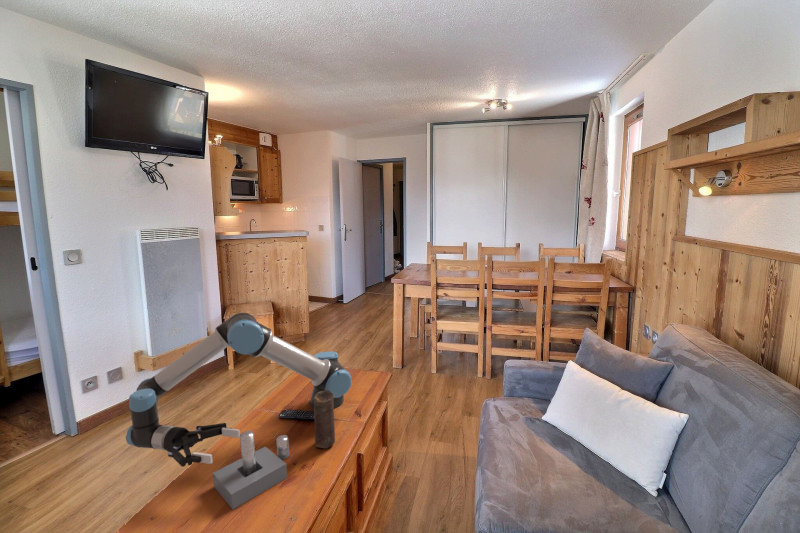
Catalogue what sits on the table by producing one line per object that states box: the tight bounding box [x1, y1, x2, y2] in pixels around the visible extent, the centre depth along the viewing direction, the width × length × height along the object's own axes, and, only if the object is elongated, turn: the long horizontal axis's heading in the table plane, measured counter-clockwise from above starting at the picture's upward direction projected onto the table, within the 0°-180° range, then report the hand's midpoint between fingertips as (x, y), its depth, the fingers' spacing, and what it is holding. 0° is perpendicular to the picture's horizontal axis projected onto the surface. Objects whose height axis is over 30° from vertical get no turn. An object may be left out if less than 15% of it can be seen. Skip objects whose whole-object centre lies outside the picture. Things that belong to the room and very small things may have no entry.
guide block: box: [212, 446, 288, 510], centre depth 123 cm, size 18×14×5 cm
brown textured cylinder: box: [313, 391, 336, 449], centre depth 141 cm, size 8×7×20 cm
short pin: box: [276, 434, 290, 461], centre depth 136 cm, size 4×4×7 cm
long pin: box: [239, 430, 257, 477], centre depth 123 cm, size 4×4×17 cm
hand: (226, 445), depth 124 cm, fingers open, 13 cm apart
